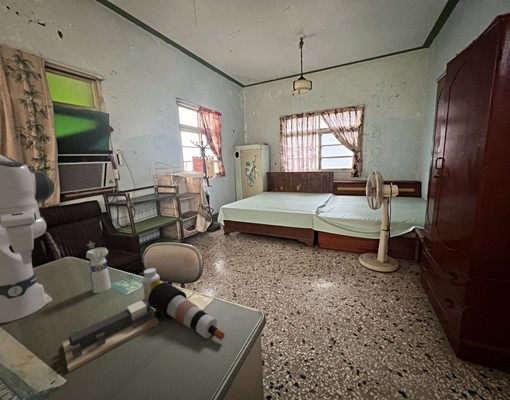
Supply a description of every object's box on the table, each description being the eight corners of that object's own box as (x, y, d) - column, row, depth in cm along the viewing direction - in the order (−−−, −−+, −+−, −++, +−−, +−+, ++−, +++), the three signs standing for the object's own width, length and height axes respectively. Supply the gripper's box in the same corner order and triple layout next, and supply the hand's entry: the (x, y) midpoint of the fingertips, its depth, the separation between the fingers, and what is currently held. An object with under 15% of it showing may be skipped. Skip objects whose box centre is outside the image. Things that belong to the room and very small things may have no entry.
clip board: (63, 345, 70) (60, 333, 69) (144, 307, 87) (143, 298, 87) (68, 372, 60) (65, 358, 59) (158, 323, 78) (157, 312, 77)
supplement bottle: (164, 293, 97) (161, 266, 95) (158, 302, 90) (154, 273, 89) (149, 294, 97) (145, 267, 95) (142, 303, 90) (138, 274, 88)
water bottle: (114, 288, 104) (107, 238, 100) (92, 295, 98) (84, 242, 94) (111, 282, 110) (104, 234, 106) (90, 288, 104) (82, 239, 100)
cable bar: (72, 345, 68) (69, 331, 67) (142, 311, 83) (141, 300, 82) (74, 354, 64) (72, 340, 64) (148, 317, 79) (146, 305, 79)
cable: (217, 359, 67) (206, 345, 61) (155, 312, 85) (143, 298, 80) (236, 329, 73) (227, 314, 68) (175, 291, 92) (164, 277, 86)
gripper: (6, 213, 70) (14, 254, 72) (-1, 222, 56) (10, 272, 58) (33, 210, 74) (41, 248, 76) (34, 217, 60) (43, 264, 62)
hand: (28, 259), depth 67 cm, fingers open, 8 cm apart
